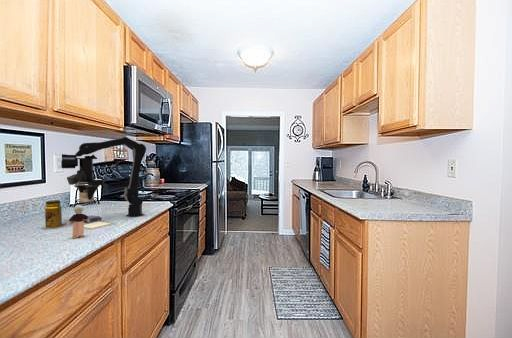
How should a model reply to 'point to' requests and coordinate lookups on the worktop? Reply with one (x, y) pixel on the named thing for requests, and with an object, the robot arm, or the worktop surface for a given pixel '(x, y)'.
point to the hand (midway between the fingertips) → (86, 199)
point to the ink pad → (92, 218)
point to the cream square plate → (97, 225)
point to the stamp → (85, 197)
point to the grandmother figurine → (78, 222)
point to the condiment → (53, 215)
